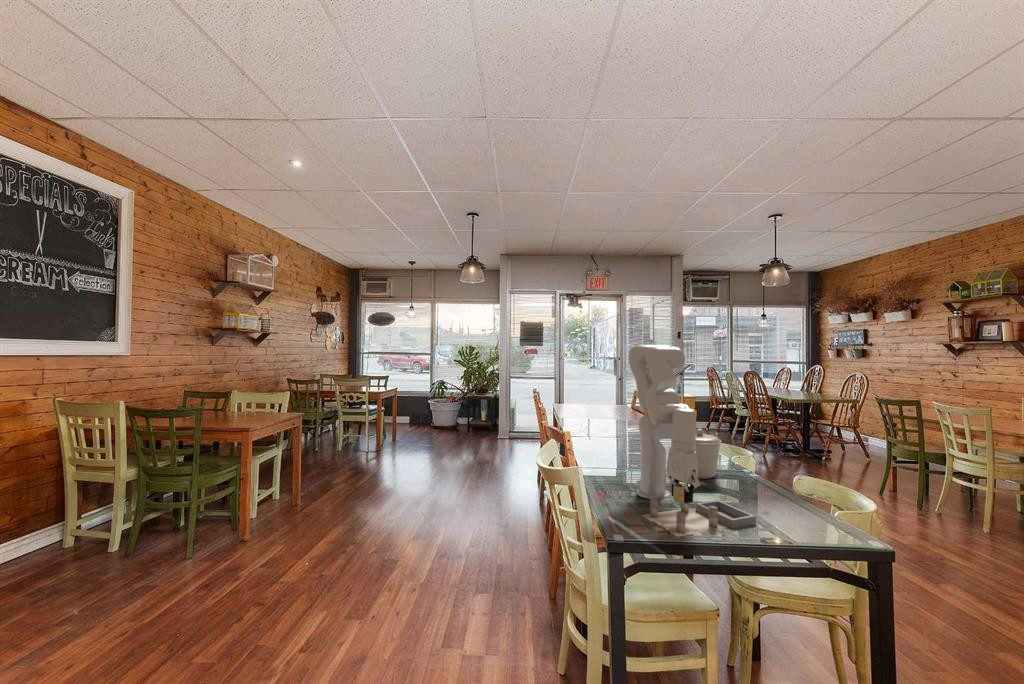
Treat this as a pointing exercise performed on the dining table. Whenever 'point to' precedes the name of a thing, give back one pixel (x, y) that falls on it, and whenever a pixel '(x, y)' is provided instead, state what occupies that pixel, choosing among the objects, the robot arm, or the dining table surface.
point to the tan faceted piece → (679, 492)
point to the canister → (706, 454)
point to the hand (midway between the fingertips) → (681, 498)
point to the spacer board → (689, 522)
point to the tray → (742, 516)
